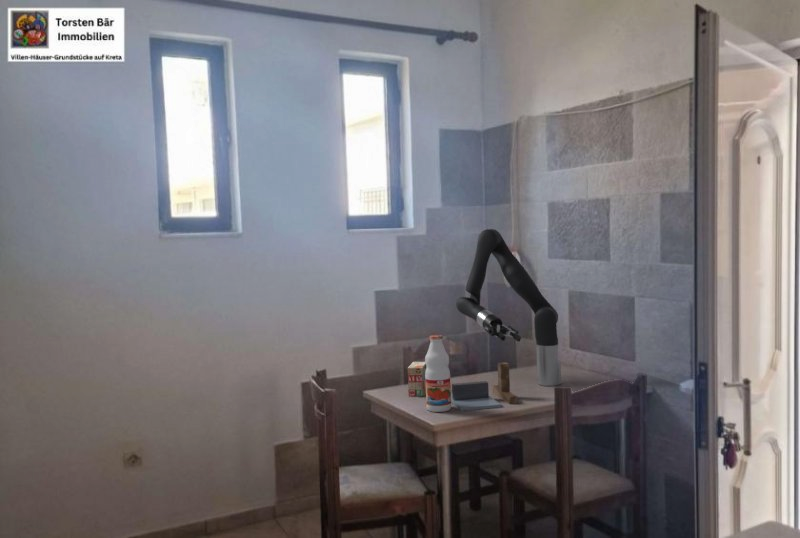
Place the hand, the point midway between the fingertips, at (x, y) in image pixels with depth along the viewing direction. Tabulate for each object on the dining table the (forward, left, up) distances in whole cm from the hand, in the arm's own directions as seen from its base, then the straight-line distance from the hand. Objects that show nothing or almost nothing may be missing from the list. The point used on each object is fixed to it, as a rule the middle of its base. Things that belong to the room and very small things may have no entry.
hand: (512, 339), depth 256 cm
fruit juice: (+36, +15, -22) cm, 45 cm away
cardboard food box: (+36, -17, -22) cm, 46 cm away
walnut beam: (+7, +7, -22) cm, 24 cm away
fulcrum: (+21, +7, -22) cm, 31 cm away
